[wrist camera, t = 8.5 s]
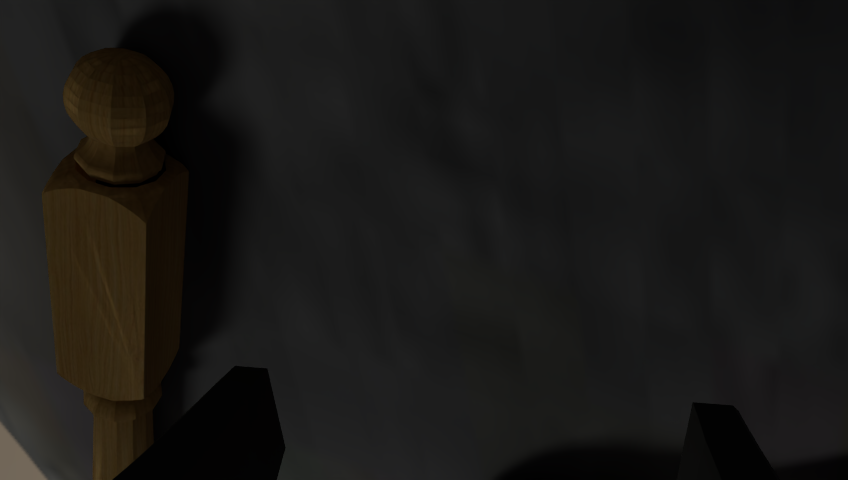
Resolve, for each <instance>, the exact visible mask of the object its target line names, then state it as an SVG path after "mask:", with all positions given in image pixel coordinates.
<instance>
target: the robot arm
mask: <svg viewBox="0 0 848 480" xmlns="http://www.w3.org/2000/svg"><path fill="white" fill-rule="evenodd" d="M284 451H285V444H284V439H283V435H282V431H281V426H280V422H279V418H278V413H277V409H276V405H275V400H274V396H273V392H272V387H271V383H270V378H269V374H268V370H267V369H266V368H253V367H241V366H234V367H233V368H232V369H231V370H230V371H229V372H228V373H227V374H226V375H225V376H224V377H223V378H221V379H220V380H219V381H218V382H217V383H216V384H215V385H214V386H213V387H212V388H211V389H210V390H209V391H208V392H207V393H206V394H205V395H204V396H203V397H202V398H201V399H200V400H199V401H198V402H197V403H196V404H195V405H194V406H193V407H191V408H190V409H189V410H188V411H187V412H186V413H185V414H184V415H183V416H182V417H181V418H180V419H179V420H178V421H177V422H176V423H175V424H174V425H173V426H172V427H171V428H169V429H168V430H167V431H166V432H165V433H164V434H163V435H162V436H161V437H160V438H159V439H158V440H157V441H155V442H154V443H153V444H152V445H151V446H150V447H149V448H148V449H147V450H146V451H145V452H144V453H142V454H141V455H140V456H139V457H138V458H137V459H136V460H135V461H134V462H132V463H131V464H130V465H129V466H128V467H127V468H125V469H124V470H123V471H122V472H121V473H120V474H118V475H117V476H116V477H115V478H114V479H113V480H277V476H278V473H279V469H280V465H281V462H282V458H283V454H284ZM677 480H780V479H779V478H778V476H777V475H776V473H775V471H774V470H773V468H772V467H771V465H770V464H769V462H768V460H767V459H766V457H765V456H764V454H763V452H762V451H761V449H760V447H759V446H758V444H757V442H756V441H755V439H754V437H753V436H752V434H751V432H750V431H749V429H748V427H747V425H746V424H745V422H744V420H743V418H742V417H741V415H740V413H739V411H738V410H737V409H736V408H735V407H734V406H731V405H719V404H706V403H693V404H692V409H691V414H690V418H689V423H688V428H687V433H686V437H685V442H684V447H683V452H682V456H681V461H680V466H679V471H678V476H677Z"/></svg>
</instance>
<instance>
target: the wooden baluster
mask: <svg viewBox="0 0 848 480" xmlns="http://www.w3.org/2000/svg"><path fill="white" fill-rule="evenodd" d="M63 100H64V106H65V108H66V111H67V113H68V115H69V116H70V118H71V119H72V120H73V122H74V123H75V124H76V125H77V126H78V127H79V128H80V129H81V130H82V131H83V132H84V133H85V134H86V135H87V137H85V138H83V139H81V141H80V143H79V145H78V147H77V148H76V149H75V150H74V151H72V152H71V153H70V154H69V155H67V156H66V157H65V158H64V159H63V160H62V161H61V162H60V164H59V165H58V167H57V168H56V169H55V171H54V172H53V174H52V176H51V177H50V179H49V181H48V182H47V184H46V186H45V188H44V190H43V192H42V202H43V214H44V225H45V237H46V249H47V260H48V272H49V283H50V295H51V307H52V318H53V330H54V342H55V353H56V365H57V373H58V374H59V375H60V376H61V377H63V378H64V379H66V380H67V381H68V382H70V383H72V384H73V385H75V386H77V387H78V388H80V389H82V390H84V405H85V406H86V407H87V408H88V409H89V410H90V411H91V412H92V413H93V415H94V432H93V480H113V479H114V478H115V477H116V476H117V475H118V474H120V473H121V472H122V471H123V470H124V469H125V468H127V467H128V466H129V465H130V464H131V463H132V462H134V461H135V460H136V459H137V458H138V457H139V456H140V455H141V454H142V453H144V452H145V451H146V450H147V449H148V448H149V447H150V446H151V445H152V444H153V443H154V436H153V409H154V407H155V406H156V404H157V403H158V401H159V399H160V398H161V396H162V387H161V381H162V380H163V378H164V376H165V375H166V373H167V372H168V370H169V368H170V367H171V365H172V363H173V360H174V358H175V356H176V354H177V352H178V349H179V342H180V324H181V306H182V288H183V270H184V252H185V235H186V217H187V199H188V181H189V171H188V170H187V168H186V167H185V166H184V165H183V164H182V163H180V162H179V161H177V160H176V159H174V158H172V157H170V156H169V155H167V154H166V152H165V150H164V149H163V148H162V147H161V146H160V145H159V144H158V143H157V142H156V141H155V140H154V138H156V137H157V136H159V135H160V134H161V133H162V132H163V131H164V129H165V128H166V127H167V124H168V121H169V118H170V115H171V111H172V107H173V104H174V90H173V86H172V83H171V81H170V79H169V77H168V75H167V74H166V73H165V72H164V71H163V70H162V68H160V67H159V66H158V65H157V64H156V63H155V62H154V61H152V60H151V59H150V58H149V57H147V56H146V55H144V54H142V53H139V52H135V51H132V50H128V49H125V48H104V49H101V50H97V51H94V52H91V53H89V54H87V55H85V56H83V57H81V58H80V59H79V60H78V61H77V62H76V64H75V66H74V68H73V70H72V72H71V73H70V75H69V77H68V79H67V81H66V83H65V86H64V91H63ZM164 160H165V167H166V171H165V172H164V173H163V174H162V175H161V176H160V177H159V178H158V179H157V180H156V181H154V182H151V183H148V184H144V185H141V186H138V187H108V186H104V185H101V184H97V183H96V180H100V181H103V182H107V183H110V184H113V185H118V184H136V183H141V182H143V181H145V180H147V179H149V178H151V177H153V176H155V175H157V174H158V172H159V171H161V170H162V166H163V162H164Z"/></svg>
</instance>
